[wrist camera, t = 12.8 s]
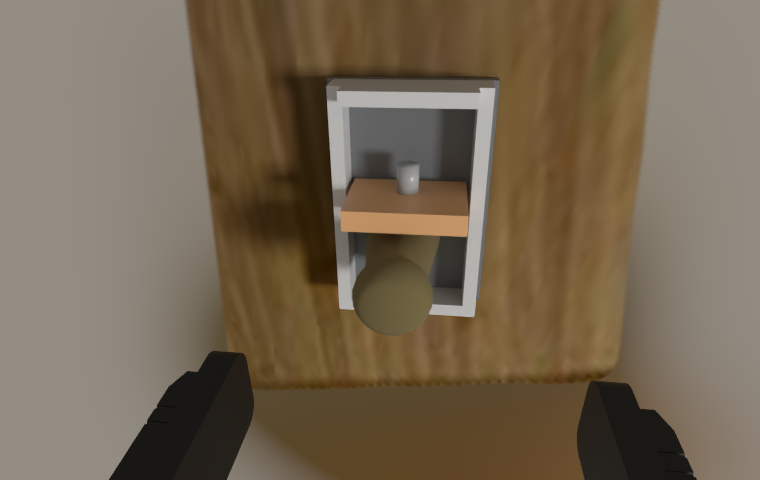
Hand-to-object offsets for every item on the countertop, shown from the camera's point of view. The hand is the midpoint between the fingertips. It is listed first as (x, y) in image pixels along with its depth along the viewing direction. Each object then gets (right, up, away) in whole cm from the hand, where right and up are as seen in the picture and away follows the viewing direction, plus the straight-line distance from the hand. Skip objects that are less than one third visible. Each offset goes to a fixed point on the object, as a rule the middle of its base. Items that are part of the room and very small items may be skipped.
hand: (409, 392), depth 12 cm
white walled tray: (+2, +7, +28) cm, 29 cm away
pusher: (+2, +8, +26) cm, 28 cm away
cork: (+1, +4, +29) cm, 29 cm away
